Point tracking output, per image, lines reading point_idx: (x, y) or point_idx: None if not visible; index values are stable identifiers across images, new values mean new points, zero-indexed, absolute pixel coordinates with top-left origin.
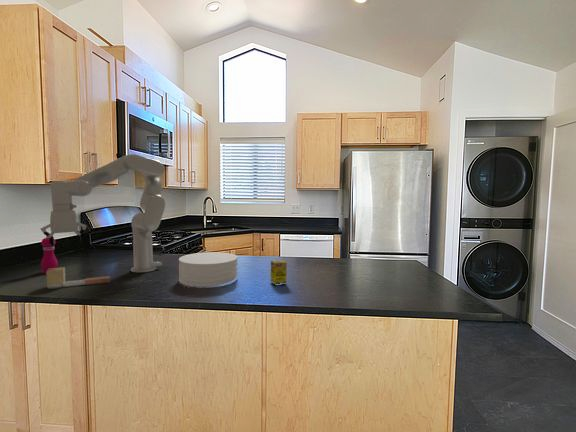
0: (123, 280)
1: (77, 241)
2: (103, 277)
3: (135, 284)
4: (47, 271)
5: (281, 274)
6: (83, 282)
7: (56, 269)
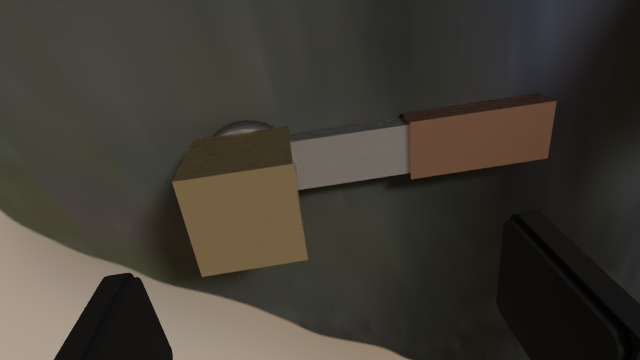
0: (604, 131)
1: (527, 343)
2: (515, 134)
3: (633, 227)
4: (208, 275)
5: None
6: (398, 171)
7: (251, 231)
